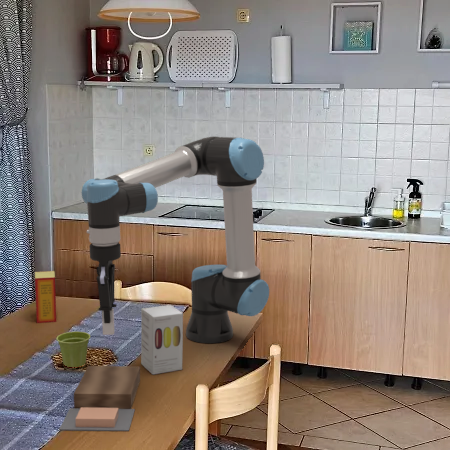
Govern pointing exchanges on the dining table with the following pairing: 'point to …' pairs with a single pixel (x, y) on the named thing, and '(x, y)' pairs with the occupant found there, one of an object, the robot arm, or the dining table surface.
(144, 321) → the supplement box
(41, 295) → the baking soda box
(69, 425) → the mat
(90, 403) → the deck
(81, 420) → the tile
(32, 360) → the dining table surface
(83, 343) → the plant pot
